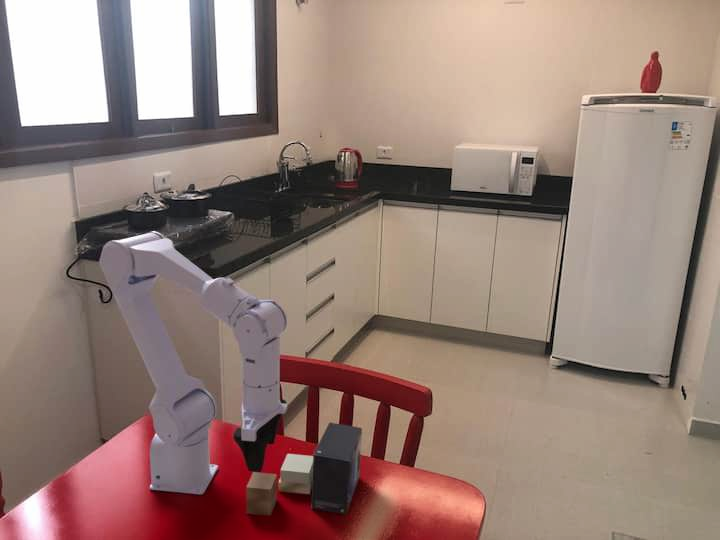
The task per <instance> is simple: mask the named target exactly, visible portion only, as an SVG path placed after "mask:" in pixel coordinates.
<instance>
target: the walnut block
mask: <svg viewBox="0 0 720 540" xmlns="http://www.w3.org/2000/svg"><path fill="white" fill-rule="evenodd" d="M277 480H278V475H277V474H276V473H268V472H267V473H266V472H253V471H252V474H251V476H250V479H249V481H248V482H247V485H246V486H245V487H246V488H245V489H246V490H245V491H246V493H245V494H246V514H251V515H258V516H261V515H262V516H269V517H270V516H272V513H273V511H274V508H275V505H276V503H277V500H278V499H277V498H278V496H277V495H278V494H277V493H278V489H277V487H278V485H277V484H278V481H277Z"/></svg>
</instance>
